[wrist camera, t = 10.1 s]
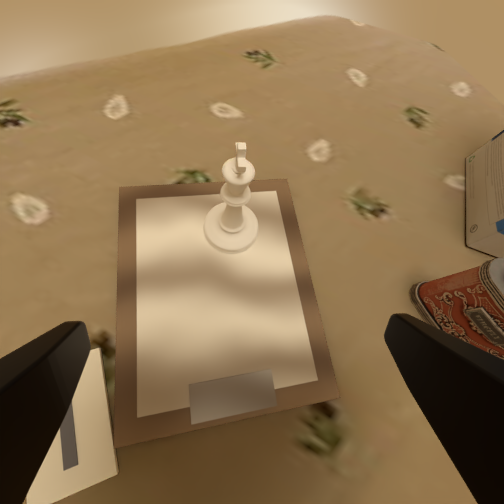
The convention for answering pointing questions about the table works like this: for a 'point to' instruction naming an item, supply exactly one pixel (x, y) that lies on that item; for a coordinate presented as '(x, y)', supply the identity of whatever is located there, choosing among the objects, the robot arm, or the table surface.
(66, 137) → the table surface
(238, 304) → the clipboard
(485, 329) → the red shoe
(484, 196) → the string lights box
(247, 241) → the chess piece
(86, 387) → the plate
